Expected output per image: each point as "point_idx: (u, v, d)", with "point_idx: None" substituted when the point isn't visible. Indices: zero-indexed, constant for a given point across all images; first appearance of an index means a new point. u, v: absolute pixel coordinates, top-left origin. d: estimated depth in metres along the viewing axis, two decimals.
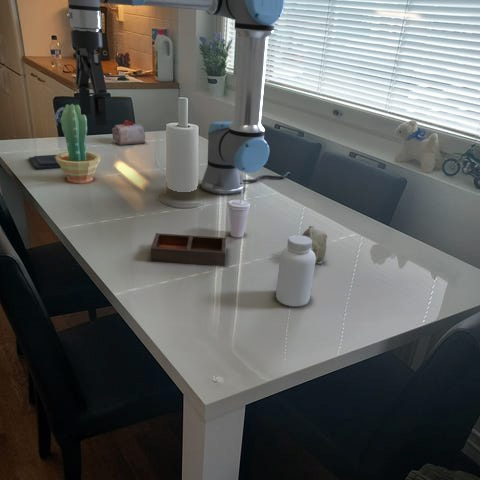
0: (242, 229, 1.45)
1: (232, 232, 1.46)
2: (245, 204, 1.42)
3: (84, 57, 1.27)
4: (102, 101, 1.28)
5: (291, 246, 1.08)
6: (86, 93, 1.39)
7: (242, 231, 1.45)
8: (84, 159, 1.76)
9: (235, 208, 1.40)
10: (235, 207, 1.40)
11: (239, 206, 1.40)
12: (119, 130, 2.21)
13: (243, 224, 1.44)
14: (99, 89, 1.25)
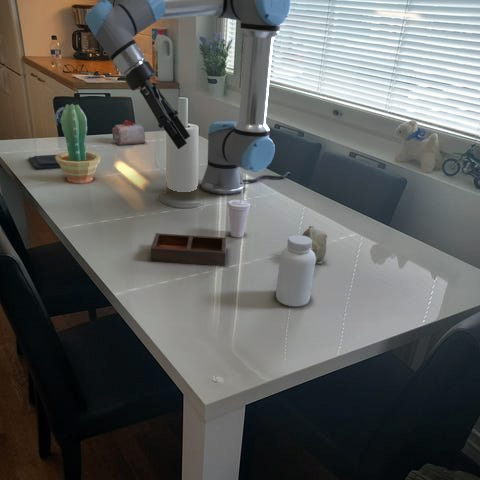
0: (242, 229, 1.45)
1: (232, 232, 1.46)
2: (245, 204, 1.42)
3: None
4: (169, 125, 1.25)
5: (291, 246, 1.08)
6: (175, 120, 1.38)
7: (242, 231, 1.45)
8: (84, 159, 1.76)
9: (235, 208, 1.40)
10: (235, 207, 1.40)
11: (239, 206, 1.40)
12: (119, 130, 2.21)
13: (243, 224, 1.44)
14: (158, 117, 1.23)
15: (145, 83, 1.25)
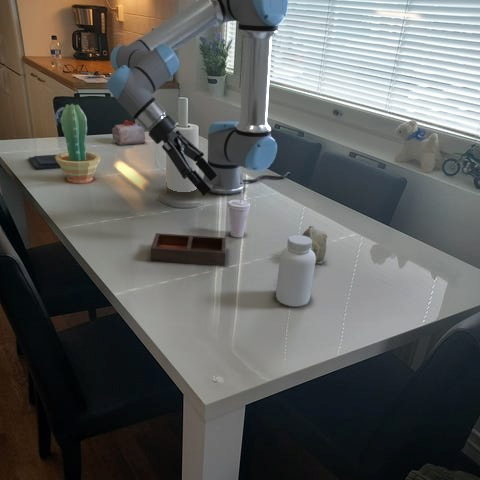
0: (242, 229, 1.45)
1: (232, 232, 1.46)
2: (245, 204, 1.42)
3: None
4: (192, 175, 1.31)
5: (291, 246, 1.08)
6: (202, 162, 1.43)
7: (242, 231, 1.45)
8: (84, 159, 1.76)
9: (235, 208, 1.40)
10: (235, 207, 1.40)
11: (239, 206, 1.40)
12: (119, 130, 2.21)
13: (243, 224, 1.44)
14: (181, 170, 1.29)
15: (167, 137, 1.31)
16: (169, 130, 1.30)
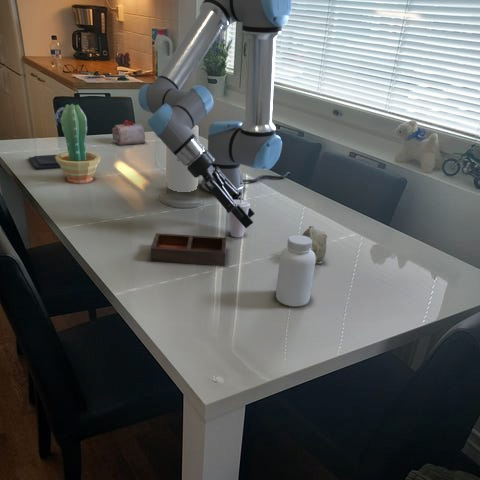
0: (242, 229, 1.45)
1: (232, 232, 1.46)
2: (245, 204, 1.42)
3: (206, 180, 1.38)
4: (236, 210, 1.38)
5: (291, 246, 1.08)
6: None
7: (242, 231, 1.45)
8: (84, 159, 1.76)
9: None
10: None
11: None
12: (119, 130, 2.21)
13: None
14: (226, 206, 1.36)
15: (206, 172, 1.35)
16: (208, 165, 1.34)
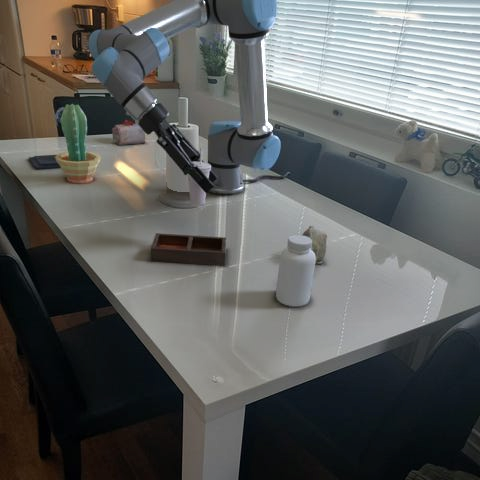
0: (203, 195, 1.29)
1: (192, 199, 1.29)
2: (205, 166, 1.26)
3: None
4: (194, 171, 1.22)
5: (291, 246, 1.08)
6: None
7: (203, 197, 1.29)
8: (84, 159, 1.76)
9: None
10: None
11: (198, 167, 1.24)
12: (119, 130, 2.21)
13: None
14: (182, 166, 1.20)
15: (158, 127, 1.19)
16: (161, 119, 1.18)
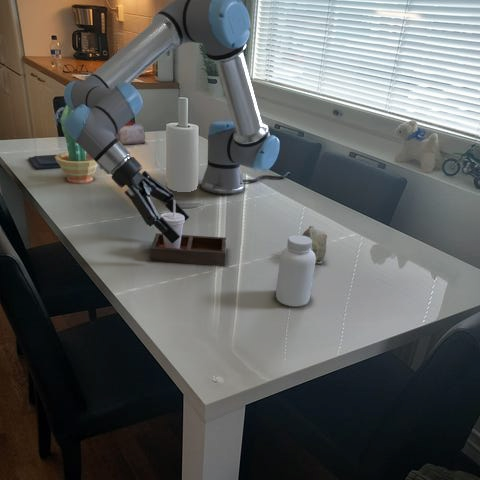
0: (177, 245, 1.30)
1: None
2: (178, 218, 1.27)
3: None
4: (159, 223, 1.20)
5: (291, 246, 1.08)
6: (172, 203, 1.33)
7: (177, 247, 1.31)
8: (84, 159, 1.76)
9: None
10: (166, 221, 1.25)
11: (171, 220, 1.26)
12: (119, 130, 2.21)
13: (177, 240, 1.29)
14: (146, 218, 1.18)
15: (131, 182, 1.20)
16: (133, 174, 1.20)
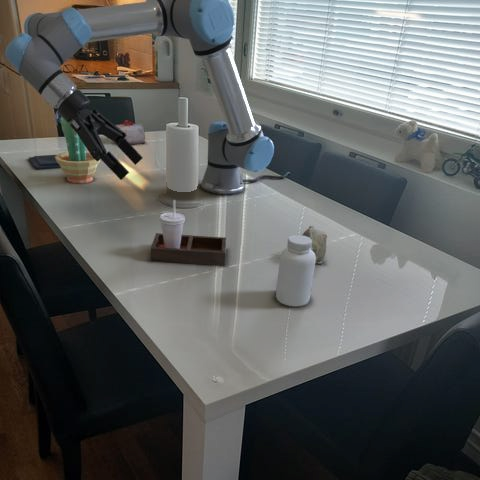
0: (177, 245, 1.30)
1: None
2: (178, 218, 1.27)
3: None
4: (105, 157, 1.17)
5: (291, 246, 1.08)
6: (124, 143, 1.30)
7: (177, 247, 1.31)
8: (84, 159, 1.76)
9: (166, 222, 1.25)
10: (166, 221, 1.25)
11: (171, 220, 1.26)
12: None
13: (177, 240, 1.29)
14: (91, 151, 1.15)
15: (77, 115, 1.17)
16: (79, 106, 1.17)
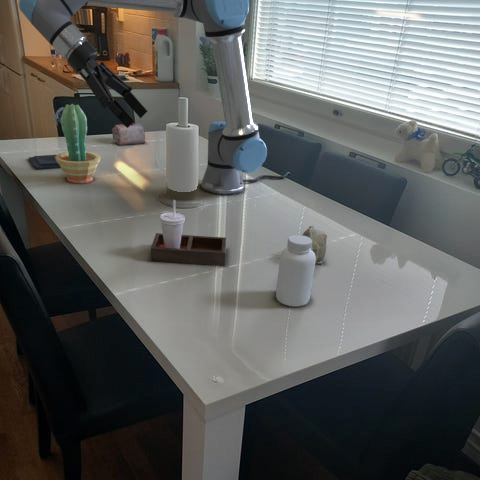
0: (177, 245, 1.30)
1: None
2: (178, 218, 1.27)
3: None
4: (113, 105, 1.24)
5: (291, 246, 1.08)
6: (130, 96, 1.36)
7: (177, 247, 1.31)
8: (84, 159, 1.76)
9: (166, 222, 1.25)
10: (166, 221, 1.25)
11: (171, 220, 1.26)
12: (119, 130, 2.21)
13: (177, 240, 1.29)
14: (99, 98, 1.22)
15: (86, 64, 1.24)
16: (88, 56, 1.23)
